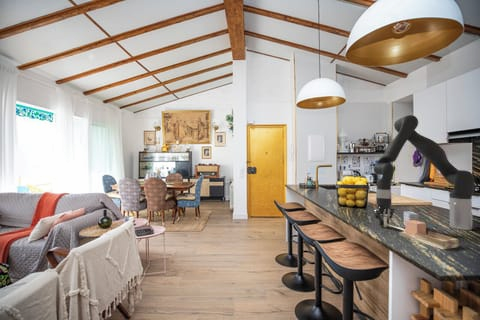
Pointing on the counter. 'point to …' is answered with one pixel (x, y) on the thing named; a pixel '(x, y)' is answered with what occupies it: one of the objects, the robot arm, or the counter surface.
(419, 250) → the counter surface
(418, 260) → the counter surface
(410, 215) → the medicine box
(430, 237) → the lane board
